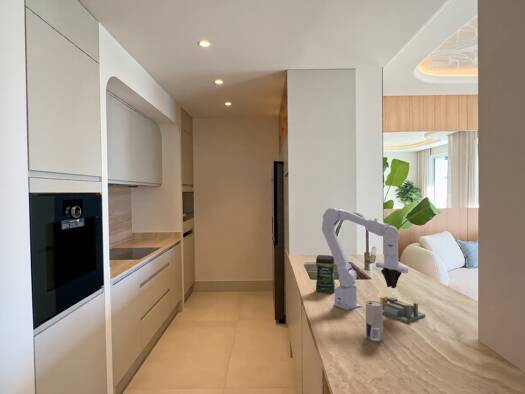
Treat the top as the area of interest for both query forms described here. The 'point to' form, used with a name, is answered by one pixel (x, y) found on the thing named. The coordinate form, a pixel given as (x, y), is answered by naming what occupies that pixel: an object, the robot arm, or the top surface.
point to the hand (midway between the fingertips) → (391, 287)
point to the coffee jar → (325, 274)
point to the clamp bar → (398, 302)
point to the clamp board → (411, 315)
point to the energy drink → (374, 321)
